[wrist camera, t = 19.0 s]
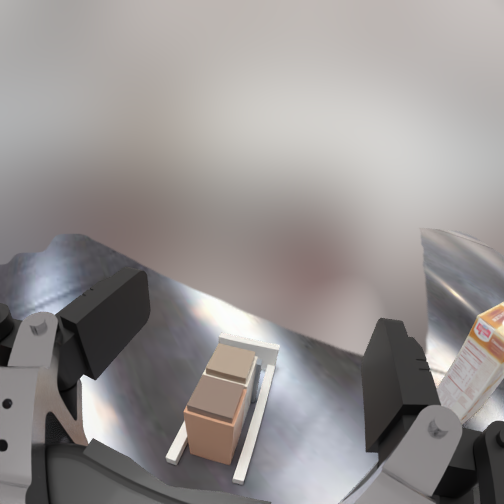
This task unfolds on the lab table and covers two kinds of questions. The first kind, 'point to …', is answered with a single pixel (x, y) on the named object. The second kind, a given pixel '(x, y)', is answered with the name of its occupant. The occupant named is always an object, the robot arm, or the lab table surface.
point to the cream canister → (234, 369)
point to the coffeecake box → (476, 366)
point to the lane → (269, 358)
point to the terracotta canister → (215, 419)
